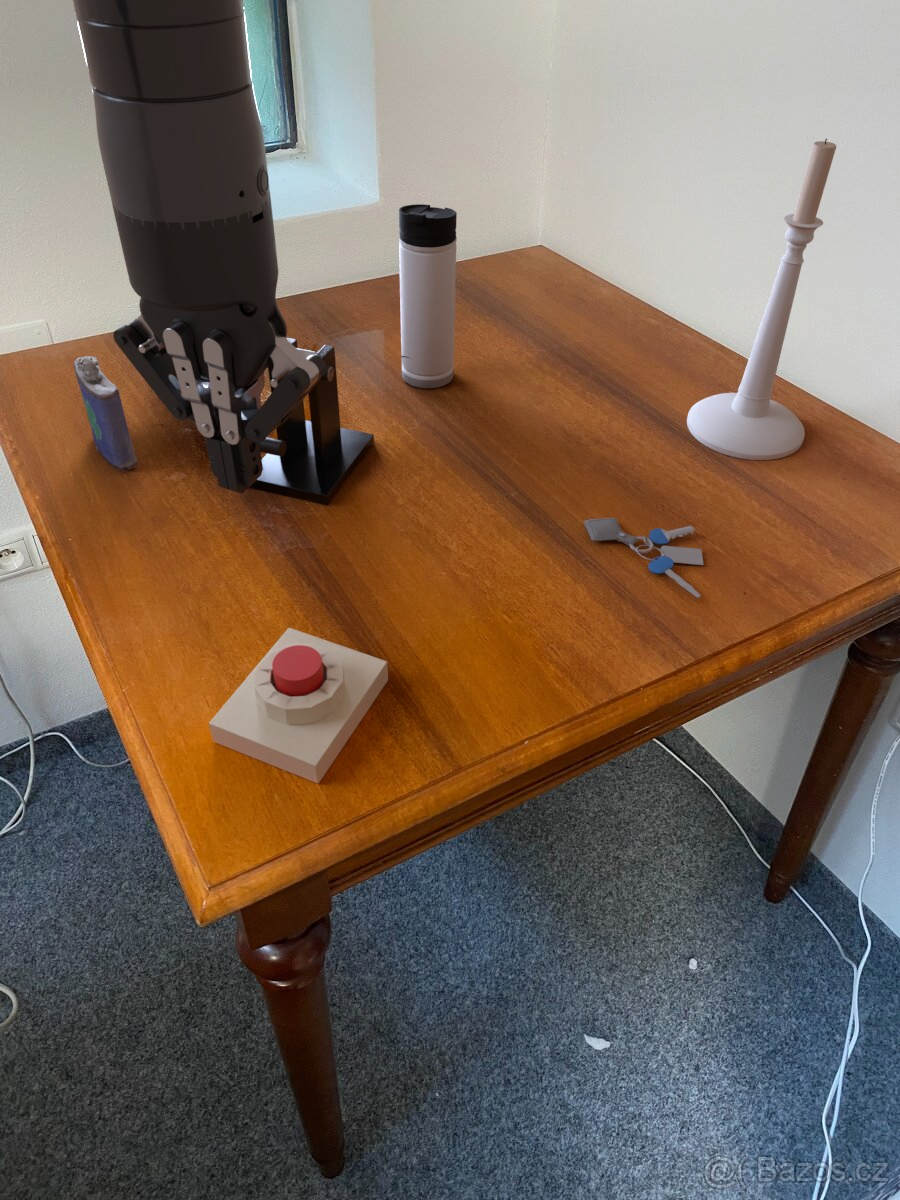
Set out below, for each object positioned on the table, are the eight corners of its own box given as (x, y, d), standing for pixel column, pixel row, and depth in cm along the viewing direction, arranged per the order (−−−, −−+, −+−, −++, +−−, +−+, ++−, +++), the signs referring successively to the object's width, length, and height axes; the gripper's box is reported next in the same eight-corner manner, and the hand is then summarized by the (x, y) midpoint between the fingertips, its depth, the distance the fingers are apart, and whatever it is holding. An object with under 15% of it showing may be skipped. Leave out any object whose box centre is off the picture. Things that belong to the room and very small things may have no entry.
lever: (282, 463, 80) (276, 445, 78) (234, 452, 81) (226, 434, 79) (334, 373, 86) (329, 354, 84) (287, 364, 87) (282, 345, 85)
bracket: (327, 505, 87) (316, 389, 78) (246, 487, 89) (227, 372, 80) (374, 443, 95) (369, 332, 86) (299, 428, 97) (286, 318, 88)
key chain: (571, 532, 84) (572, 525, 83) (622, 497, 88) (623, 490, 88) (696, 602, 77) (698, 595, 76) (745, 560, 81) (747, 553, 81)
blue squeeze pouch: (141, 467, 91) (116, 373, 84) (113, 476, 90) (85, 381, 82) (113, 427, 96) (87, 336, 89) (87, 435, 95) (58, 343, 88)
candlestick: (827, 440, 97) (934, 148, 77) (742, 472, 92) (832, 168, 72) (745, 389, 105) (822, 112, 85) (663, 416, 100) (723, 129, 80)
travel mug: (392, 384, 105) (386, 211, 91) (414, 360, 109) (412, 191, 96) (440, 395, 103) (442, 220, 89) (461, 370, 107) (466, 200, 94)
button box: (318, 784, 62) (313, 749, 60) (213, 742, 65) (203, 706, 62) (388, 680, 70) (387, 645, 67) (291, 645, 72) (286, 610, 70)
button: (307, 703, 63) (305, 687, 62) (265, 687, 64) (262, 671, 63) (332, 670, 66) (331, 653, 64) (291, 655, 67) (288, 639, 65)
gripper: (28, 189, 42) (113, 488, 53) (263, 237, 38) (300, 548, 50) (131, 148, 47) (188, 429, 59) (348, 187, 43) (363, 480, 55)
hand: (239, 483), depth 54 cm, fingers closed
